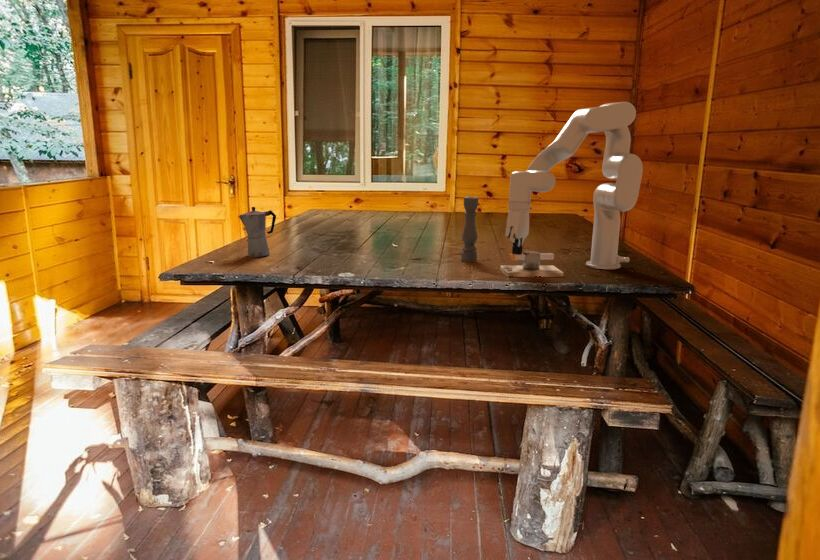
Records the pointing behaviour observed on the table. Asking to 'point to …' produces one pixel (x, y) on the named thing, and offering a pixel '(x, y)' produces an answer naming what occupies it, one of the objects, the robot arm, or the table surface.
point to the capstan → (531, 259)
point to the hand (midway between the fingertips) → (516, 256)
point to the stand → (531, 271)
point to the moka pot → (257, 231)
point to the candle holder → (469, 230)
